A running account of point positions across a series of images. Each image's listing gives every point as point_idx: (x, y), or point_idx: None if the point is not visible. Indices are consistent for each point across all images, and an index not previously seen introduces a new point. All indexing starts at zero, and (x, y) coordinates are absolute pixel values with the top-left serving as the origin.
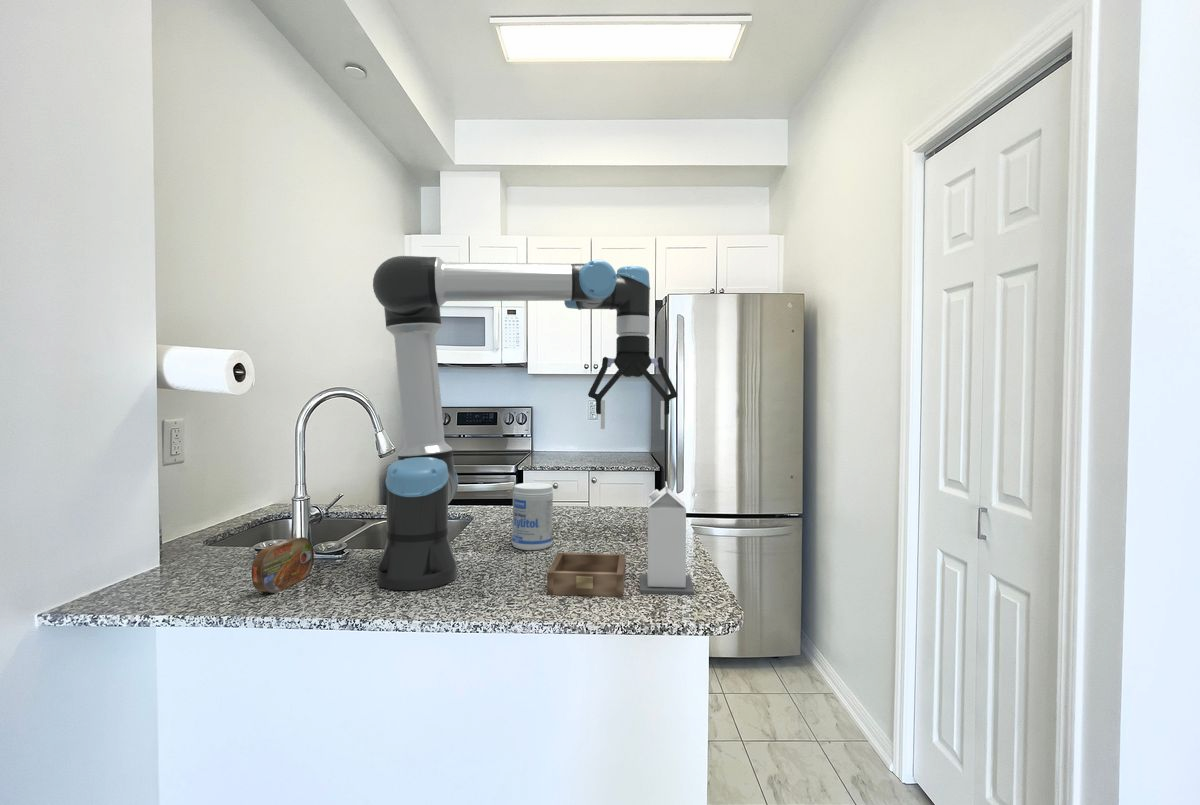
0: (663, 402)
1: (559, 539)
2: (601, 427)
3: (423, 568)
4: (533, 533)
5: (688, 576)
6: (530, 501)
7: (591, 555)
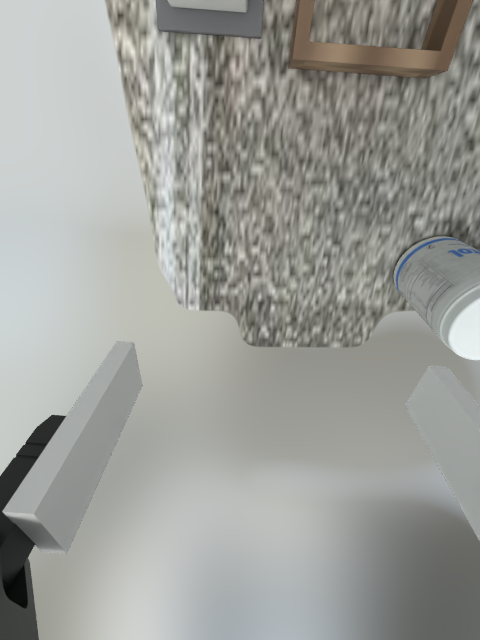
0: (21, 496)
1: (370, 307)
2: (447, 372)
3: None
4: (451, 245)
5: (160, 15)
6: None
7: (372, 46)
